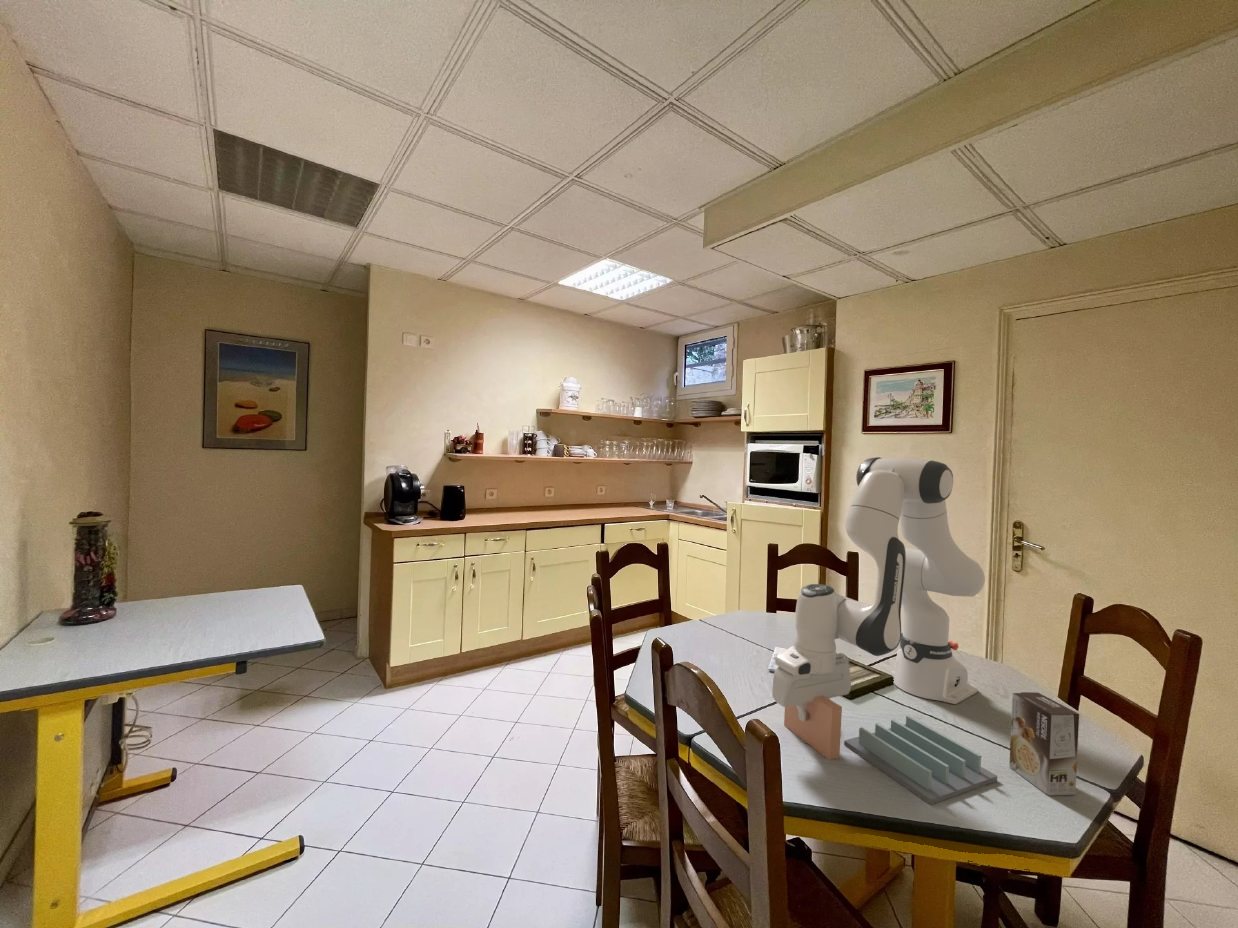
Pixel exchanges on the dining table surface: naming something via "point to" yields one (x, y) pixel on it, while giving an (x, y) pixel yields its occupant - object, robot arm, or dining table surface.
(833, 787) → the dining table surface
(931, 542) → the robot arm
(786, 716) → the salmon pink panel
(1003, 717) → the dining table surface
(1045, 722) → the coffee box
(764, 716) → the dining table surface
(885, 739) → the dish rack
